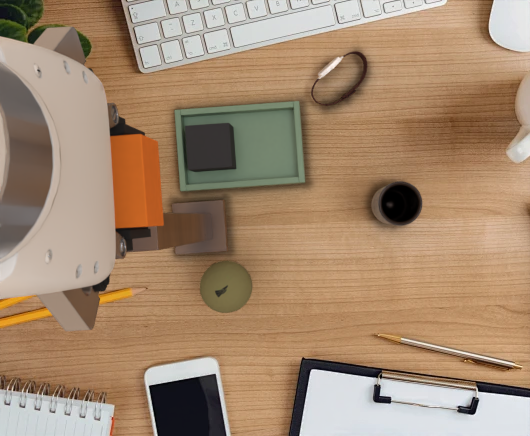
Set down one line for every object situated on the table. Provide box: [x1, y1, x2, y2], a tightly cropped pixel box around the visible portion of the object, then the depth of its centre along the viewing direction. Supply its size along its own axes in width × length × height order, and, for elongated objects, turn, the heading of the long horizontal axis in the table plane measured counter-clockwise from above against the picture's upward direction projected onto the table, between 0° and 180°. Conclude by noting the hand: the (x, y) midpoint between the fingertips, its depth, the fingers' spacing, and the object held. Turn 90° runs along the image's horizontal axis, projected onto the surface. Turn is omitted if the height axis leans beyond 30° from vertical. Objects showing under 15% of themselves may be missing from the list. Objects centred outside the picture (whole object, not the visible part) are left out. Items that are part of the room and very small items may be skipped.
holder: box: [174, 100, 307, 193], centre depth 71 cm, size 14×9×2 cm, turn 94°
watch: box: [310, 50, 368, 107], centre depth 70 cm, size 8×5×4 cm, turn 132°
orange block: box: [110, 134, 164, 229], centre depth 34 cm, size 5×5×3 cm
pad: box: [185, 123, 236, 172], centre depth 70 cm, size 5×5×3 cm
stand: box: [126, 199, 229, 256], centre depth 60 cm, size 6×6×24 cm
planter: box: [370, 180, 423, 227], centre depth 67 cm, size 4×4×10 cm
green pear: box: [199, 260, 254, 314], centre depth 67 cm, size 6×6×10 cm
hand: (122, 186), depth 37 cm, fingers closed on orange block, 4 cm apart
